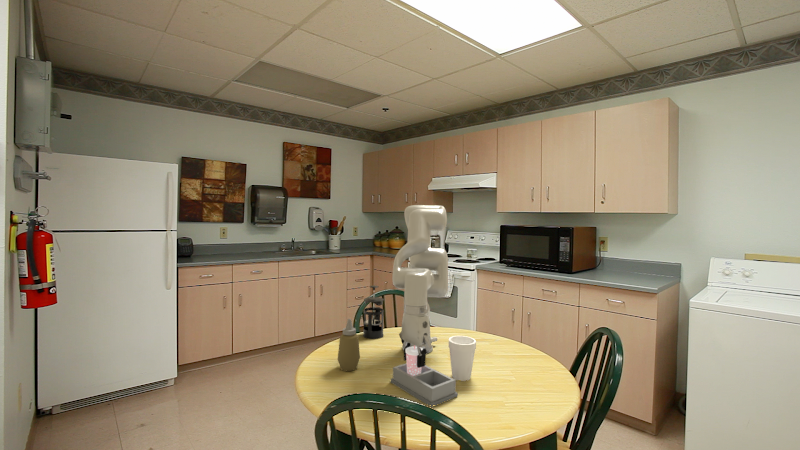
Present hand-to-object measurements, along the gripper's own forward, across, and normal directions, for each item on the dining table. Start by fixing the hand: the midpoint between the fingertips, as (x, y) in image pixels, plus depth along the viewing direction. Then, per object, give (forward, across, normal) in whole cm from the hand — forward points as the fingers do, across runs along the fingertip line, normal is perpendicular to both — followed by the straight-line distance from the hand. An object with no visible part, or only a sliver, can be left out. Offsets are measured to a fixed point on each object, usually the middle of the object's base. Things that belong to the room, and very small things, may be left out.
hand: (414, 362), depth 126 cm
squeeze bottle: (+7, +23, +11) cm, 27 cm away
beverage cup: (+5, 0, 0) cm, 5 cm away
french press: (+8, +48, -17) cm, 52 cm away
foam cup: (+7, -6, -17) cm, 19 cm away
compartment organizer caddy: (+7, -5, 0) cm, 9 cm away
